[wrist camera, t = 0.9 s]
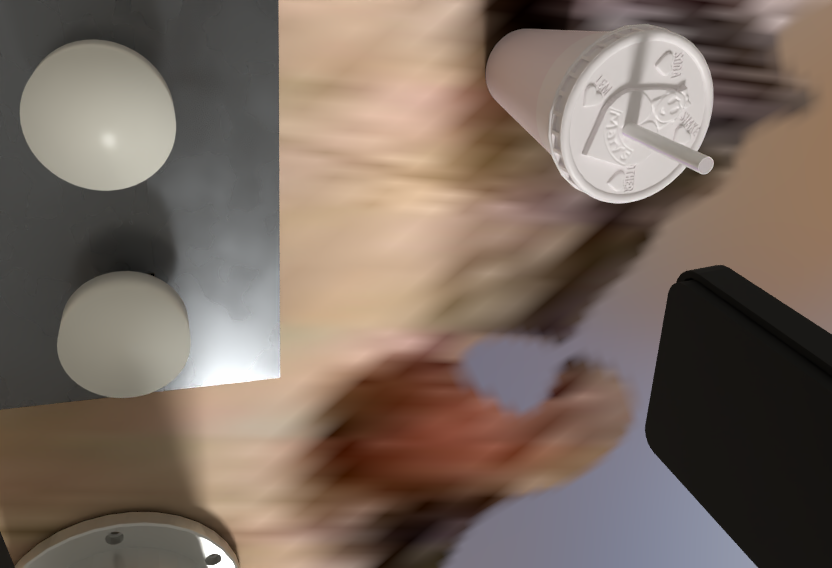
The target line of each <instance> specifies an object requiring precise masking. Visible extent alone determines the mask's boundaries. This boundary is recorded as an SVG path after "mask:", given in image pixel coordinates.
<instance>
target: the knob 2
mask: <svg viewBox="0 0 832 568" xmlns="http://www.w3.org/2000/svg"><path fill="white" fill-rule="evenodd" d="M190 347H191V339H190V330H189V321H188V314H187V310H186V307H185V305H184V302H183V300H182V299H181V297H180V296H179V294H178V293H177V292H176V291H175V290H174V289H173V288H172V287H171V286H169V285H168V284H167V283H165V282H164V281H162V280H160V279H158V278H156V277H154V276H151V275H148V274H145V273H141V272H134V271H117V272H111V273H106V274H103V275H100V276H97V277H95V278H93V279H91V280H89V281H87V282H86V283H84V284H83V285H81V286H80V287H79V288H78V289H77V290H76V291H75V292H74V293H73V294H72V295H71V297H70V298H69V300H68V301H67V303H66V305H65V307H64V310H63V314H62V318H61V324H60V329H59V334H58V340H57V352H58V356H59V360H60V362H61V365H62V367H63V368H64V370H65V372H66V373H67V374H68V375H69V377H70V378H71V379H72V380H73V381H75V382H76V383H77V384H78V385H80V386H81V387H83V388H84V389H86V390H88V391H90V392H93V393H96V394H98V395H102V396H106V397H113V398H132V397H138V396H142V395H146V394H149V393H152V392H154V391H157V390H158V389H160V388H162V387H164V386H165V385H167V384H168V383H170V382H171V381H172V380H173V379H174V378H175V377H176V376H177V375H178V374H179V373H180V372H181V370H182V369H183V367H184V366H185V364H186V362H187V359H188V356H189V353H190Z"/></svg>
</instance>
